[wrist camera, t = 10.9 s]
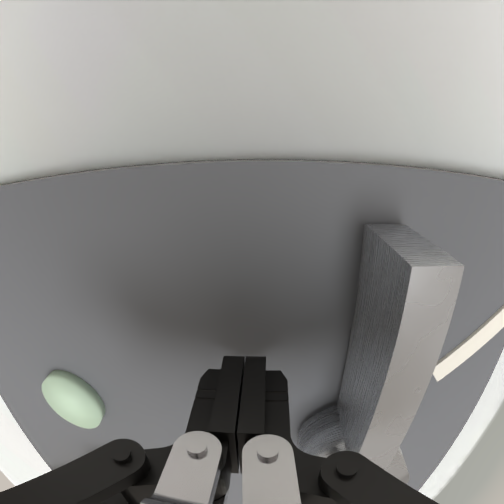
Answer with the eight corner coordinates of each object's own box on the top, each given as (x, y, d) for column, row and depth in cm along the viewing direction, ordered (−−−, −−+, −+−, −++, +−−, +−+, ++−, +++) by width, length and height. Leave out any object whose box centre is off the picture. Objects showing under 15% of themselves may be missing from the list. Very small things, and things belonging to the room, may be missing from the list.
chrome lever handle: (376, 452, 15) (390, 505, 11) (293, 460, 15) (295, 517, 11) (443, 226, 10) (507, 264, 6) (316, 222, 10) (343, 267, 7)
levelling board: (-49, 197, 13) (-74, 205, 10) (524, 184, 11) (553, 192, 9) (72, 478, 22) (65, 494, 20) (397, 499, 20) (402, 517, 18)
